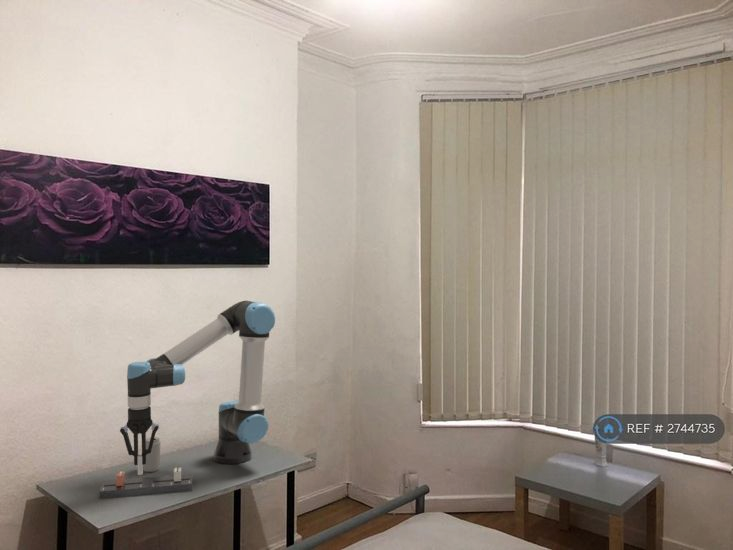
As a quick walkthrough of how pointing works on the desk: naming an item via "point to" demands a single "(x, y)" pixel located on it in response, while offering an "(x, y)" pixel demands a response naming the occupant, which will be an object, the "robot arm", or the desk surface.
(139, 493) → the dark grey slider panel
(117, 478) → the fader red
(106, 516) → the desk surface
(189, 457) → the desk surface
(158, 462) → the beverage can
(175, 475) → the fader grey
